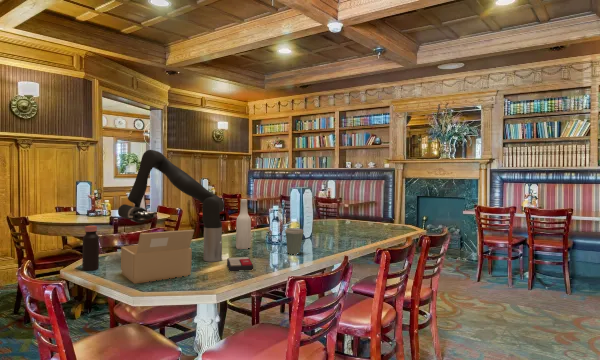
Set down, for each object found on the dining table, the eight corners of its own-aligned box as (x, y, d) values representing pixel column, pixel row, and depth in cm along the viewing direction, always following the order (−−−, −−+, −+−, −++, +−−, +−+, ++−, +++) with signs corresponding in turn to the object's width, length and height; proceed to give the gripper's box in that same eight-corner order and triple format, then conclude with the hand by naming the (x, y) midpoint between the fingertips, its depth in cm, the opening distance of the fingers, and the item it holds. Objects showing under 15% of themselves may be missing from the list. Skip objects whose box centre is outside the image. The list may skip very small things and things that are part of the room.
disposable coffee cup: (292, 251, 239) (292, 226, 238) (306, 254, 232) (307, 228, 232) (280, 254, 230) (281, 228, 230) (296, 257, 224) (296, 230, 223)
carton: (175, 266, 196) (175, 241, 196) (191, 275, 180) (192, 248, 180) (120, 273, 181) (120, 246, 181) (133, 283, 165) (133, 254, 165)
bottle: (90, 271, 184) (90, 227, 183) (78, 270, 186) (79, 226, 186) (102, 268, 190) (102, 225, 190) (91, 267, 192) (91, 225, 192)
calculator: (229, 265, 187) (227, 256, 202) (229, 274, 188) (226, 265, 202) (253, 264, 190) (249, 255, 205) (253, 273, 190) (248, 264, 205)
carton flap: (193, 229, 175) (194, 230, 175) (188, 247, 179) (189, 248, 179) (140, 233, 162) (140, 234, 161) (136, 252, 166) (136, 253, 165)
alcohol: (250, 249, 243) (251, 199, 242) (236, 249, 241) (236, 199, 241) (250, 247, 252) (251, 198, 251) (235, 247, 250) (236, 198, 250)
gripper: (123, 207, 200) (133, 210, 186) (150, 206, 208) (162, 208, 194) (123, 222, 200) (133, 226, 186) (150, 220, 208) (162, 224, 194)
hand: (148, 217), depth 190 cm, fingers closed
